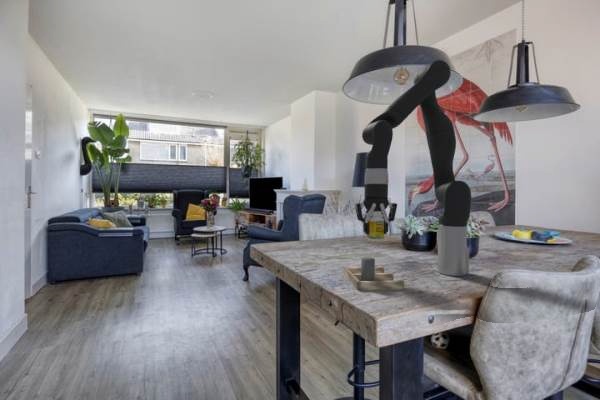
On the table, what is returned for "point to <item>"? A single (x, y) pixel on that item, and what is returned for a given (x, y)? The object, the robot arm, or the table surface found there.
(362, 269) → the plug
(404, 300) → the table surface
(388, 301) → the table surface
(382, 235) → the supplement bottle
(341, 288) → the table surface
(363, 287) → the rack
